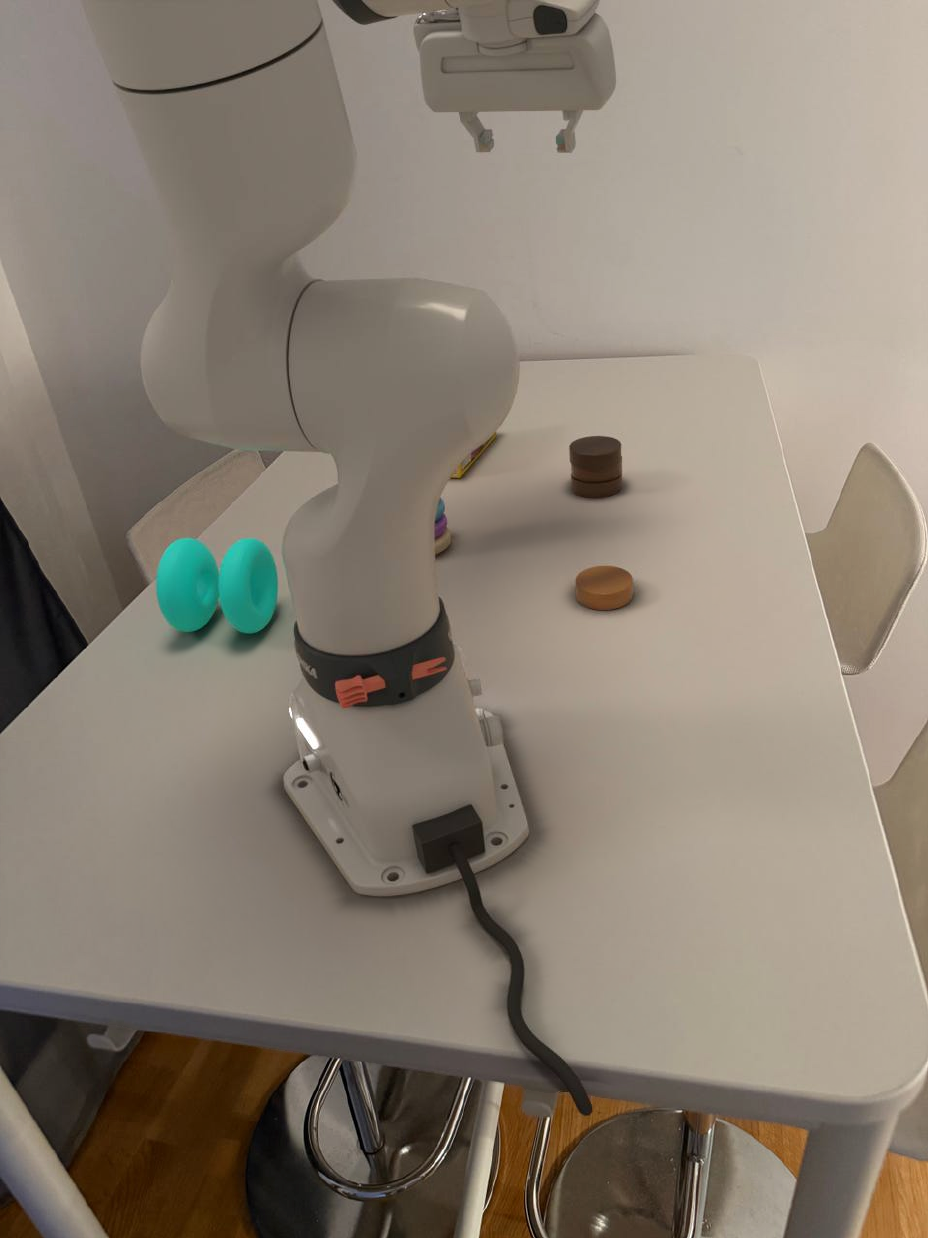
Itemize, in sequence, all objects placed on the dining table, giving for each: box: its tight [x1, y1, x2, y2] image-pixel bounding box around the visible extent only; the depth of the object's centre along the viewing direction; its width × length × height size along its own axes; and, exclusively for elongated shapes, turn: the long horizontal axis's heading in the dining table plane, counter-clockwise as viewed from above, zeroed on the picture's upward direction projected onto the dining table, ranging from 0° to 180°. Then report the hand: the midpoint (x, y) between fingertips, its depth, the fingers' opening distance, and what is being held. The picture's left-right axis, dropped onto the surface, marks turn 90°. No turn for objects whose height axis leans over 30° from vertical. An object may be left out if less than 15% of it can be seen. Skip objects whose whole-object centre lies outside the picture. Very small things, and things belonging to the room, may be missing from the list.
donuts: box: [155, 537, 279, 634], centre depth 97 cm, size 10×10×10 cm
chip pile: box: [568, 435, 623, 499], centre depth 119 cm, size 7×7×6 cm
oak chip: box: [574, 565, 634, 611], centre depth 97 cm, size 6×6×2 cm
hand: (525, 149), depth 98 cm, fingers open, 8 cm apart
